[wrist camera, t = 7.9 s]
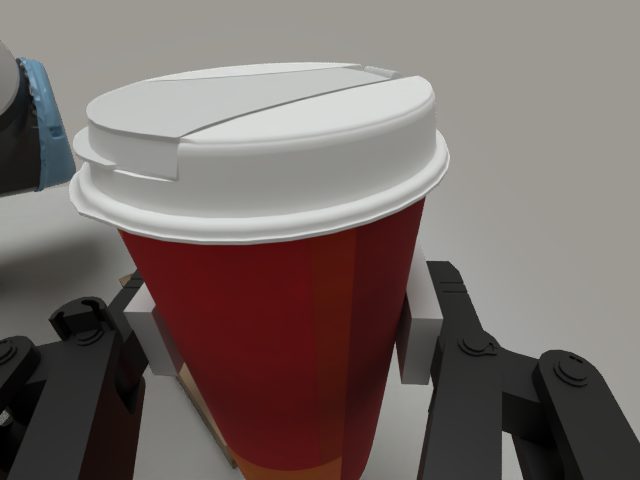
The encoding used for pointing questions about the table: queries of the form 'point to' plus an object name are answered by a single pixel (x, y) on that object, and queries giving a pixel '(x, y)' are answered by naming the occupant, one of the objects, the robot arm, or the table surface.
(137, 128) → the paper cup
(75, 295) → the table surface
